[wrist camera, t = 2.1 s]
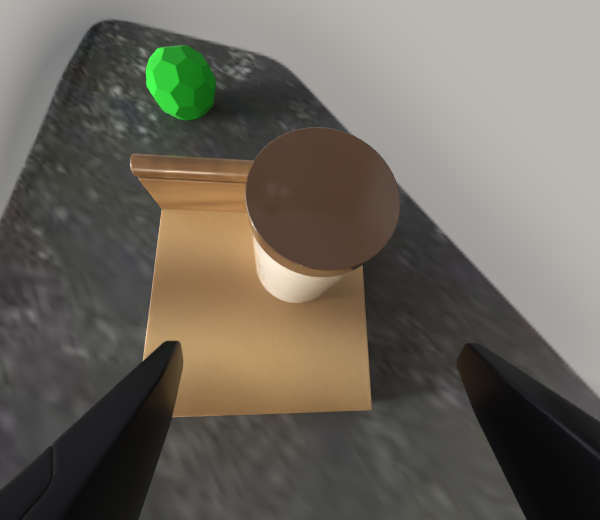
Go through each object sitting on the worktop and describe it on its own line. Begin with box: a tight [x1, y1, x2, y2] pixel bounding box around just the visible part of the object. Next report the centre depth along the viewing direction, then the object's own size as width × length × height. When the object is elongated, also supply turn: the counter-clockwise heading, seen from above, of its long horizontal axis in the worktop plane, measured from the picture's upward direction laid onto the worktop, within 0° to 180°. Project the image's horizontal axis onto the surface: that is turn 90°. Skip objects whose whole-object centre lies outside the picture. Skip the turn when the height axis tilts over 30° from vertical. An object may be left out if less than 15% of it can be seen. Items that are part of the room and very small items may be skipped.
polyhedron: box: [146, 46, 216, 120], centre depth 23 cm, size 5×5×5 cm
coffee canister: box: [245, 127, 400, 303], centre depth 16 cm, size 6×6×10 cm
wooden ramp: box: [130, 153, 372, 417], centre depth 18 cm, size 14×14×7 cm
